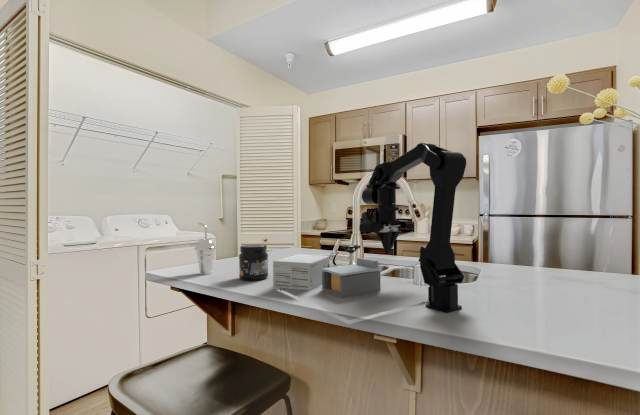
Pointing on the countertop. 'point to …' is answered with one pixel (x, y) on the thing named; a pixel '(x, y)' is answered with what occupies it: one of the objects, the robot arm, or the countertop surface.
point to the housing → (353, 283)
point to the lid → (354, 267)
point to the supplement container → (253, 262)
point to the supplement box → (299, 272)
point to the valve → (350, 252)
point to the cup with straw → (205, 253)
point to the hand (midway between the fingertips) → (387, 253)
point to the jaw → (335, 282)
